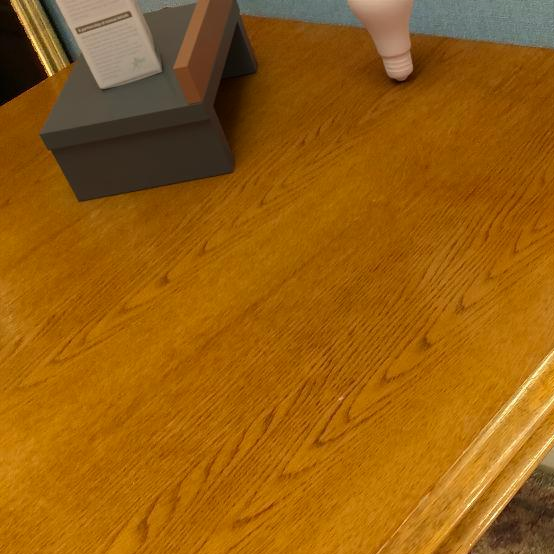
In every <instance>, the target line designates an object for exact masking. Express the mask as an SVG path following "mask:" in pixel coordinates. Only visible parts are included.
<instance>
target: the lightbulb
mask: <svg viewBox="0 0 554 554" xmlns="http://www.w3.org/2000/svg"><path fill="white" fill-rule="evenodd" d="M414 1H415V0H346V3H347V5H348V7H349V9H350V11H351V13H352V14H353V15H354V16H355V18H356V19H357V20H358V21H359V22H360V23H361V24H362V26H363V27H364V28H365V29H366V30H367V32H368V33H369V35H370V36H371V39H372V40H373V43H374V45H375V48H376V51H377V54H378V55H379V56H380V57H381V59H382V63H383V66H384V69H385V72H386V75H387V76H388V77H389V78H391V79H394V80H396V81H398V82H402V81H405V80H406V79H408V76H409V75H410V74H412V72H413V70H414V66H413V58H412V54H411V48H412V43H411V37H410V19H411V15H412V10H413V6H414Z"/></svg>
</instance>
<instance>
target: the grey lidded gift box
mask: <svg viewBox="0 0 554 554" xmlns="http://www.w3.org/2000/svg"><path fill="white" fill-rule="evenodd" d="M240 12H241V8H240V5H239V4H238V1H237V0H197V1H196V2H192V3H188V4H184V5H179V6H178V5H177V6H173V7H168V8H163V9H158V10H153V11H148V12H142V14H143V16H144V18H145V20H146V22H147V25H148V27H149V29H150V31H151V34H152V36H153V38H154V40H155V42H156V45H157V47H158V51H159V55H160V59H161V66H162V72H160V73H157V74H154V75H151V76H148V77H145V78H142V79H139V80H136V81H133V82H129V83H126V84H123V85H119V86H115V87H111V88H107V89H100V88H99V86H98V84H97V82H96V80H95V78H94V76H93V75H92V73H91V71H90V69H89V67H88V65H87V63H86V61H85V59H84V57H83V55H82V53H81V52H80V54H79V55H78V58H77V59H76V62H75V64H74V65H73V67H72V69H71V71H70V73H69V75H68V77H67V79H66V81H65V83H64V85H63V86H62V88H61V90H60V93H59V94H58V96H57V98H56V100H55V102H54V104H53V106H52V108H51V110H50V112H49V114H48V116H47V118H46V120H45V122H44V124H43V125H42V127H41V129H40V131H39V133H38V134H39V137H40V138H41V141H42V143H43V144H44V146H45V148H46V150H47V151H50V152H51V154H52V155H53V157H54V159H55V161H56V163H57V165H58V166H59V169H60V170H61V172H62V173H63V176H64V177H65V179H66V181H67V183H68V185H69V187H70V188H71V190H72V192H73V194H74V195H75V198H76V200H77V201H78V202H84V201H88V200H89V201H90V200H94V199H99V198H104V197H110V196H116V195H121V194H125V193H126V194H127V193H131V192H137V191H141V190H148V189H152V188H157V187H164V186H168V185H174V184H179V183H185V182H189V181H195V180H199V179H205V178H206V179H207V178H210V177H215V176H222V175H226V174H232V173H234V169H235V165H236V159H235V157H234V154H233V152H232V148H231V146H230V144H229V142H228V139H227V136H226V134H225V132H224V130H223V126H222V124H221V122H220V119H219V117H218V114H217V112H216V109H215V107H214V104H215V101H216V97H217V94H218V91H219V86H220V83H221V80H224V79H230V78H235V77H240V76H244V75H250V74H255V73H257V71H258V70H257V69H258V66H259V63H258V60H257V57H256V54H255V52H254V48H253V46H252V43H251V41H250V38H249V35H248V31H247V30H246V26H245V23H244V21H243V18H242V15H241V13H240Z"/></svg>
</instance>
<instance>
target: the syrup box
mask: <svg viewBox="0 0 554 554" xmlns="http://www.w3.org/2000/svg"><path fill="white" fill-rule="evenodd" d="M54 1H55V3H56V5H57V8H58V9H59V10H60V13H61V15H62V17H63V19H64V22H65V23H66V25H67V27H68V29H69V31H70V33H71V35H72V37H73V39H74V41H75V42H76V45H77V47H78V49H79V51H80V54H81V53H82V55H83V57H84V59H85V61H86V63H87V65H88V67H89V69H90V71H91V73H92V75H93V76H94V78H95V80H96V82H97V84H98V86H99V88H100V89H107V88H111V87H115V86H119V85H123V84H126V83H129V82H133V81H136V80H139V79H142V78H145V77H148V76H151V75H154V74H157V73H160V72H162V66H161V59H160V55H159V51H158V47H157V45H156V42H155V40H154V38H153V36H152V34H151V31H150V29H149V27H148V25H147V22H146V20H145V18H144V16H143V14H142V13H143V11H142V9H141V7H140V4H139V3H138V0H54Z"/></svg>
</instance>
